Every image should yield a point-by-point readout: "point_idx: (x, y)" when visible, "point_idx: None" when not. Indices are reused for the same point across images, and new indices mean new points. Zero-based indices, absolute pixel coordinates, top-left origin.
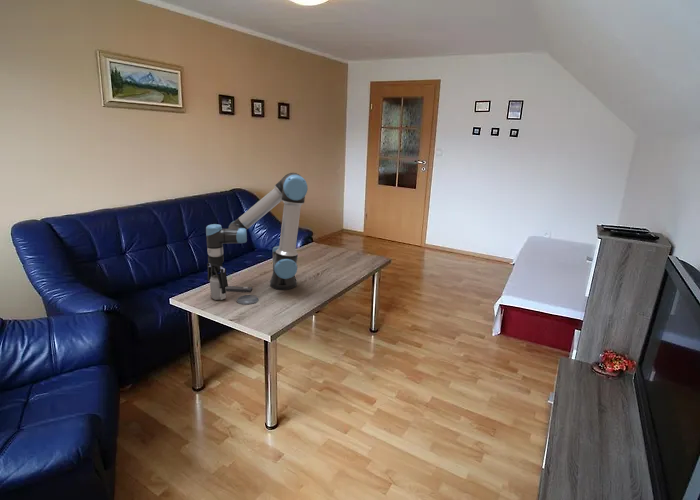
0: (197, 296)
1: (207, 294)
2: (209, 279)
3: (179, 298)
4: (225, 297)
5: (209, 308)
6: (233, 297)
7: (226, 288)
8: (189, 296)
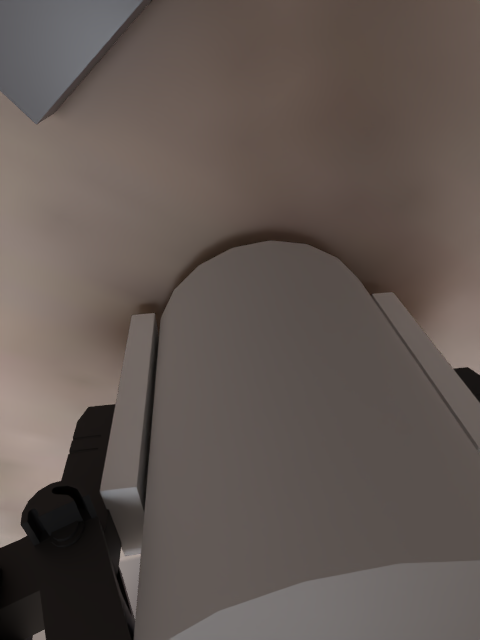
0: (53, 460)
1: (49, 373)
2: (23, 634)
3: None
4: (398, 303)
5: None
6: (413, 151)
7: (48, 85)
8: (9, 505)
